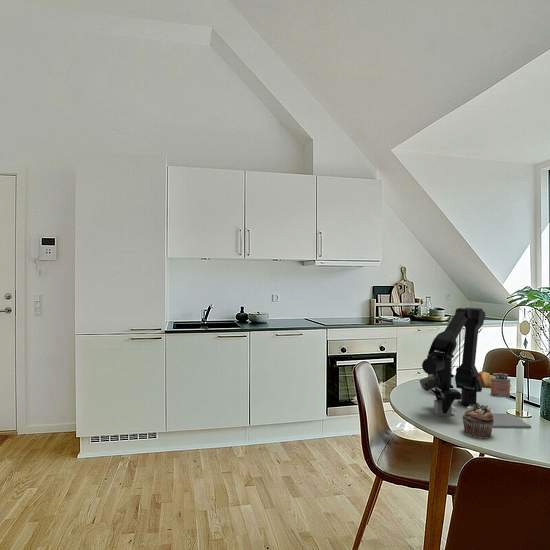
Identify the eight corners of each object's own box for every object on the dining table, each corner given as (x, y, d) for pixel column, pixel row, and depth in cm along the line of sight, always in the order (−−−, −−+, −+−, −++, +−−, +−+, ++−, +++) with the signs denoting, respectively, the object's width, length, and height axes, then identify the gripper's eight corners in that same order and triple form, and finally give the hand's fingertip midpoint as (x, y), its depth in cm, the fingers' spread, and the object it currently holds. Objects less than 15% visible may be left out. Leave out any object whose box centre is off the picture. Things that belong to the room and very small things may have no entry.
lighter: (508, 395, 190) (508, 372, 190) (511, 397, 187) (512, 374, 187) (489, 394, 191) (489, 372, 191) (492, 396, 188) (492, 373, 188)
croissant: (511, 395, 203) (512, 378, 206) (510, 389, 195) (511, 372, 198) (462, 387, 214) (464, 371, 217) (460, 381, 207) (462, 365, 210)
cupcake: (497, 433, 144) (497, 403, 144) (488, 441, 137) (489, 410, 137) (467, 426, 150) (467, 397, 150) (457, 433, 143) (458, 403, 143)
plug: (433, 412, 164) (434, 399, 164) (452, 413, 164) (452, 400, 164) (437, 415, 161) (437, 402, 161) (456, 416, 161) (456, 402, 161)
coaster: (476, 415, 162) (476, 413, 162) (510, 415, 162) (510, 413, 162) (493, 427, 149) (494, 425, 149) (531, 428, 149) (531, 425, 149)
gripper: (413, 364, 172) (413, 403, 172) (431, 376, 153) (430, 419, 153) (441, 365, 172) (440, 404, 172) (462, 376, 153) (461, 420, 153)
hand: (442, 411), depth 162 cm, fingers closed on plug, 4 cm apart
